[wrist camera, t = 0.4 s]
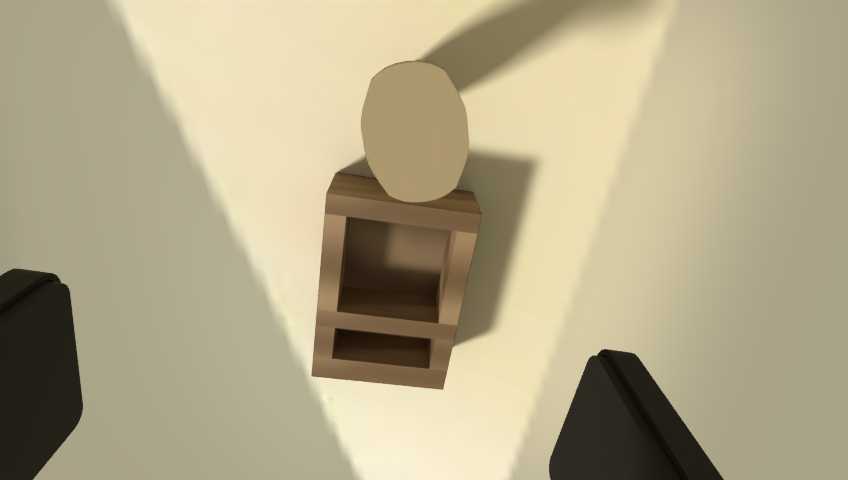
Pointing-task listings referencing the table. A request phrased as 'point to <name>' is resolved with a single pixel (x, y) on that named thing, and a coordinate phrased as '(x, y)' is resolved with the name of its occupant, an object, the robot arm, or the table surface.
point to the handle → (415, 131)
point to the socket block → (391, 283)
